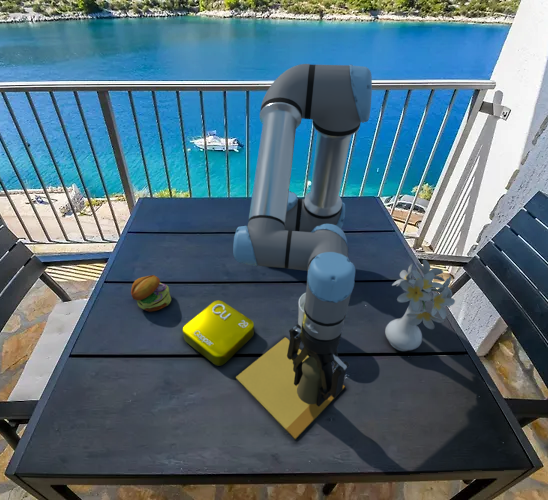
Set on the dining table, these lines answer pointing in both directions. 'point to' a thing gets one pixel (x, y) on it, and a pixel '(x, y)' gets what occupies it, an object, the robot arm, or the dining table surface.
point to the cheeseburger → (150, 293)
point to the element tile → (218, 332)
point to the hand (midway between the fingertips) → (309, 391)
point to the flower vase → (418, 306)
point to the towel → (280, 389)
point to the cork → (309, 382)
